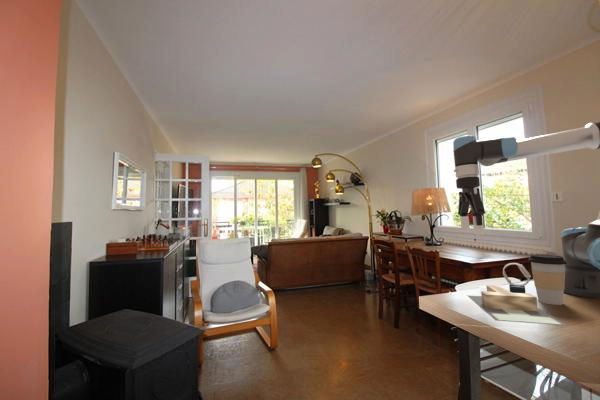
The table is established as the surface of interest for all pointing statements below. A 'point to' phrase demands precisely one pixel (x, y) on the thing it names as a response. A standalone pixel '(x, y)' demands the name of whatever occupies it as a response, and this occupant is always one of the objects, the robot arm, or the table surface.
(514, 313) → the mat
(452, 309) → the table surface
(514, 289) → the watch
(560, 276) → the coffee cup
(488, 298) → the t block
